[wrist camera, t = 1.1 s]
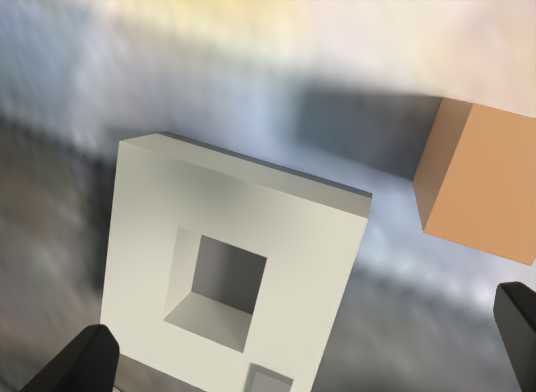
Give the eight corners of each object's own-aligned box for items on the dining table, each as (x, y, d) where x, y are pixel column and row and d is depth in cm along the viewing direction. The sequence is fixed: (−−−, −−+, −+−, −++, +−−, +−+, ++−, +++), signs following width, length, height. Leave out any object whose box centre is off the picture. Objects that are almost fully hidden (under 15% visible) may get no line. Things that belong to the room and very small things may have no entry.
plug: (517, 115, 19) (598, 133, 12) (480, 201, 20) (531, 266, 13) (442, 97, 20) (473, 103, 12) (412, 181, 21) (423, 232, 14)
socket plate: (372, 193, 22) (367, 222, 17) (311, 376, 26) (294, 438, 22) (165, 131, 25) (112, 142, 20) (140, 306, 29) (92, 348, 24)
